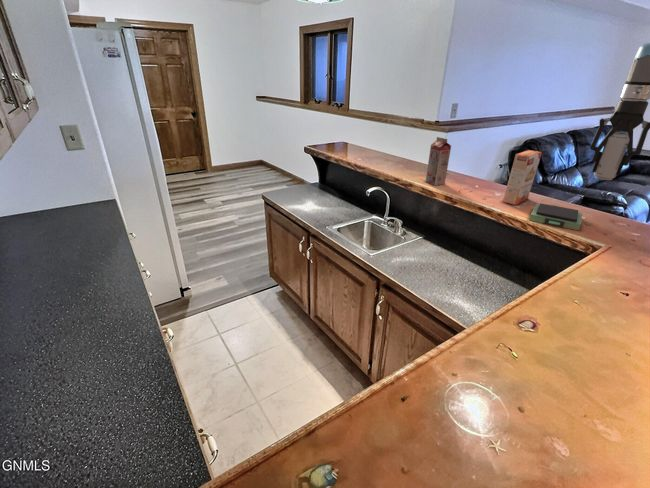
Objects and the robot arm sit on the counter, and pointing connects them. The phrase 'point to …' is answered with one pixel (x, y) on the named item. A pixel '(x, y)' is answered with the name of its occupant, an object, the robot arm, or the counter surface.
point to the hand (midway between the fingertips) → (605, 172)
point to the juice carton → (438, 162)
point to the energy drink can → (612, 156)
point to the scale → (556, 220)
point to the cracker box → (521, 176)
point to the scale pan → (557, 212)
